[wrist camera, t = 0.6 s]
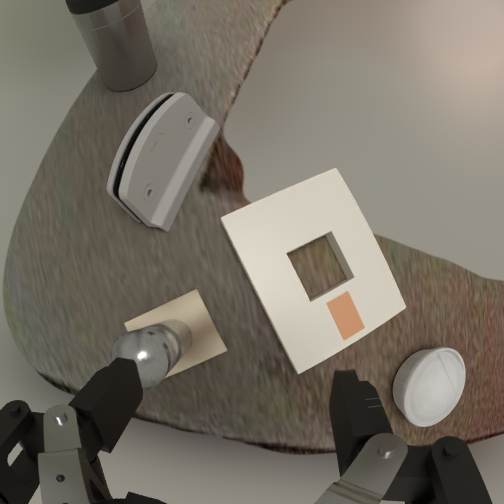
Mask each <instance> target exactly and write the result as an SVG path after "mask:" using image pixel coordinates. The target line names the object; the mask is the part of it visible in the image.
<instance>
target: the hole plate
mask: <svg viewBox="0 0 504 504" xmlns="http://www.w3.org/2000/svg"><path fill="white" fill-rule="evenodd" d="M221 224H222V226H223V228H224V230H225V232H226V234H227V236H228V238H229V240H230V242H231V244H232V246H233V248H234V250H235V253H236V255H237V257H238V259H239V261H240V263H241V265H242V267H243V269H244V271H245V273H246V275H247V277H248V279H249V281H250V283H251V285H252V287H253V289H254V291H255V293H256V295H257V297H258V299H259V301H260V303H261V305H262V307H263V309H264V311H265V313H266V315H267V317H268V319H269V321H270V323H271V325H272V327H273V329H274V331H275V333H276V335H277V337H278V339H279V341H280V343H281V345H282V347H283V349H284V351H285V353H286V355H287V357H288V359H289V361H290V363H291V365H292V367H293V369H294V370H295V371H296V372H297V373H298V374H300V373H302V372H304V371H306V370H307V369H309V368H311V367H313V366H315V365H316V364H318V363H320V362H322V361H323V360H325V359H327V358H329V357H330V356H332V355H334V354H336V353H337V352H339V351H341V350H342V349H344V348H346V347H347V346H349V345H350V344H352V343H354V342H355V341H357V340H359V339H360V338H362V337H363V336H365V335H366V334H368V333H369V332H371V331H373V330H374V329H376V328H377V327H379V326H380V325H382V324H383V323H385V322H386V321H388V320H389V319H390V318H392V317H393V316H395V315H396V314H398V313H399V312H400V311H402V310H403V309H405V308H406V306H405V303H404V301H403V298H402V296H401V294H400V291H399V289H398V287H397V284H396V282H395V280H394V278H393V276H392V273H391V271H390V269H389V267H388V265H387V262H386V260H385V258H384V256H383V254H382V252H381V250H380V248H379V246H378V244H377V242H376V240H375V238H374V236H373V234H372V232H371V230H370V228H369V226H368V224H367V222H366V220H365V218H364V216H363V214H362V213H361V211H360V209H359V207H358V205H357V203H356V201H355V200H354V198H353V196H352V194H351V192H350V191H349V189H348V187H347V185H346V184H345V182H344V180H343V178H342V177H341V175H340V173H339V172H338V170H337V168H334V169H331V170H329V171H327V172H324V173H322V174H319V175H317V176H315V177H312V178H310V179H307V180H305V181H303V182H300V183H298V184H295V185H293V186H291V187H289V188H286V189H284V190H281V191H279V192H277V193H275V194H272V195H270V196H268V197H265V198H263V199H261V200H259V201H257V202H254V203H252V204H250V205H247V206H245V207H243V208H241V209H239V210H236V211H234V212H232V213H230V214H228V215H225V216H223V217H221ZM324 235H325V236H326V238H327V240H328V242H329V244H330V246H331V248H332V250H333V252H334V254H335V256H336V258H337V260H338V262H339V264H340V266H341V268H342V270H343V272H344V274H345V276H346V278H347V279H346V280H344V281H342V282H341V283H339V284H337V285H335V286H333V287H332V288H330V289H328V290H326V291H324V292H323V293H321V294H319V295H317V296H315V297H314V298H312V299H310V300H309V298H308V296H307V294H306V292H305V290H304V288H303V286H302V284H301V282H300V280H299V278H298V276H297V274H296V272H295V270H294V268H293V266H292V264H291V262H290V260H289V258H288V256H287V254H288V253H290V252H292V251H294V250H296V249H298V248H300V247H302V246H304V245H306V244H308V243H310V242H312V241H314V240H316V239H318V238H320V237H322V236H324Z"/></svg>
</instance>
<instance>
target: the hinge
mask: <svg viewBox="0 0 504 504" xmlns="http://www.w3.org/2000/svg"><path fill="white" fill-rule="evenodd" d="M219 130H220V128H219V126H218V124H217V122H216V121H215V120H213V119H211V118H210V117H208V116H207V115H206V114H205V113H204V112H203V111H202V109H201V108H200V107H199V106H198V105H197V103H196V102H195V101H194V100H193V99H192V97H191V96H190V95H189V94H186V93H181V92H178V93H176V94H175V93H173V92H169V93H165V94H162V95H161V96H159V97H158V98H157V99H155V100H154V101H153V102H152V103H151V104H149V105H148V106H147V107H146V108H145V109H144V111H143V112H142V113H141V114H140V115H139V116H138V118H137V119H136V120H135V122H134V123H133V124H132V126H131V127H130V129H129V130H128V132H127V134H126V135H125V137H124V139H123V141H122V143H121V145H120V147H119V149H118V152H117V154H116V156H115V159H114V162H113V165H112V168H111V171H110V175H109V179H108V183H107V192H108V194H109V195H110V196H111V197H112V198H113V199H114V200H115V201H116V202H117V203H118V204H119V205H120V206H121V207H122V208H123V209H124V210H125V211H126V212H127V213H128V214H129V215H130V216H132V217H133V218H134V219H135V220H136V221H137V222H139V223H141V221H143V222H144V223H145V224H146V225H147V226H150V227H159V228H160V229H162V230H163V231H165V232H169V230H170V228H171V225H172V223H173V221H174V219H175V217H176V215H177V212H178V210H179V208H180V206H181V204H182V202H183V200H184V198H185V196H186V194H187V192H188V189H189V187H190V185H191V183H192V181H193V179H194V177H195V175H196V173H197V171H198V169H199V167H200V166H201V164H202V162H203V160H204V158H205V156H206V154H207V152H208V150H209V148H210V146H211V145H212V143H213V141H214V139H215V137H216V135H217V133H218V132H219Z"/></svg>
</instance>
